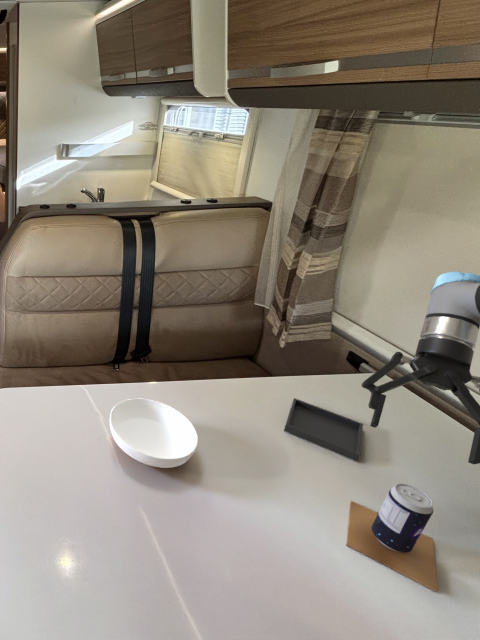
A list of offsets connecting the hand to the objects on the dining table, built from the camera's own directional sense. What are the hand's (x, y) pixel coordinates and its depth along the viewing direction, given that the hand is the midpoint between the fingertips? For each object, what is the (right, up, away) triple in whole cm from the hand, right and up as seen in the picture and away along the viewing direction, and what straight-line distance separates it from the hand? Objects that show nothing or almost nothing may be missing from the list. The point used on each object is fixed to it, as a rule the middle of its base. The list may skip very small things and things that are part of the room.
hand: (421, 443), depth 82 cm
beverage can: (-7, -18, -1) cm, 20 cm away
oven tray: (+2, -8, +25) cm, 27 cm away
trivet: (-7, -19, -1) cm, 20 cm away
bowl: (-43, -10, +22) cm, 50 cm away
